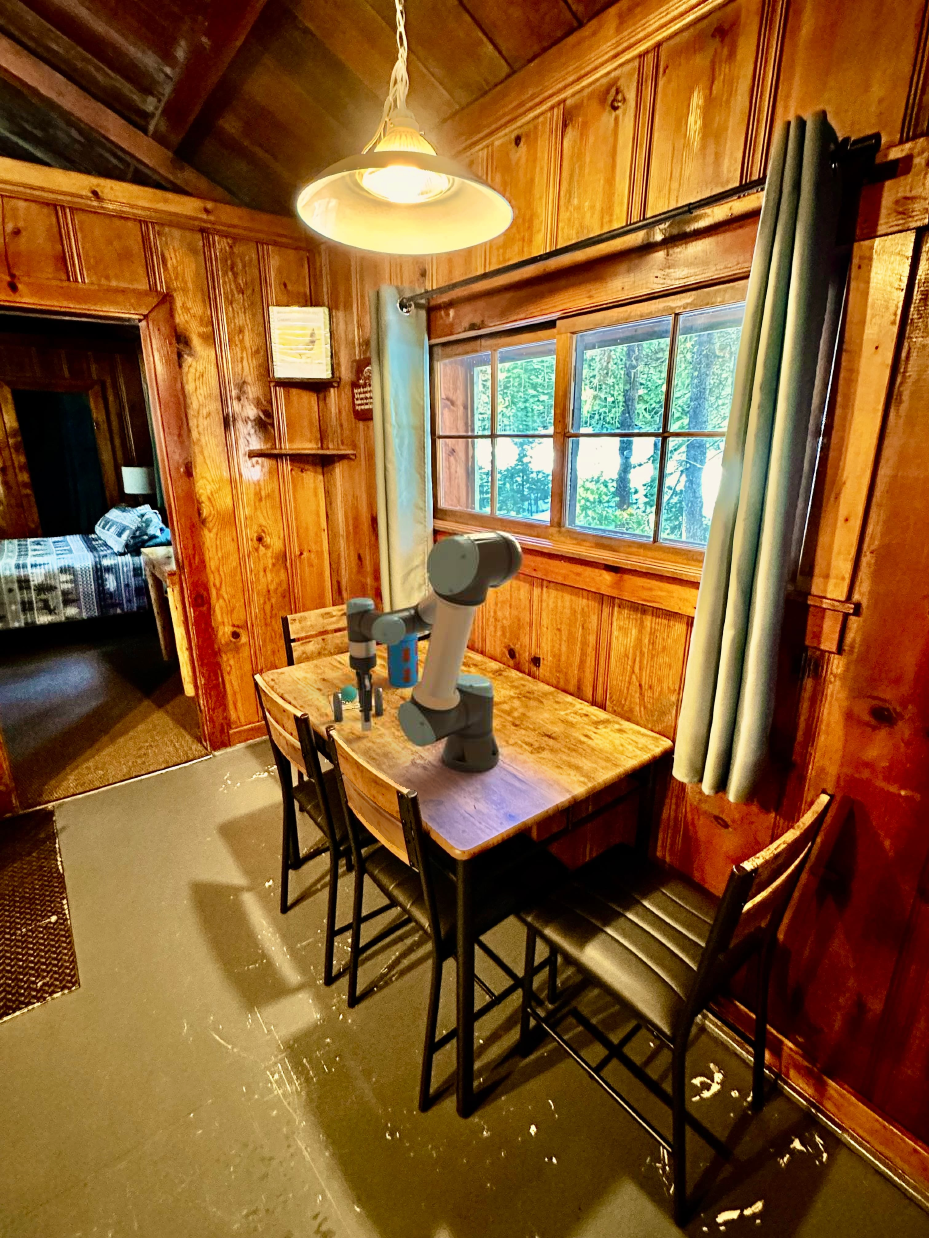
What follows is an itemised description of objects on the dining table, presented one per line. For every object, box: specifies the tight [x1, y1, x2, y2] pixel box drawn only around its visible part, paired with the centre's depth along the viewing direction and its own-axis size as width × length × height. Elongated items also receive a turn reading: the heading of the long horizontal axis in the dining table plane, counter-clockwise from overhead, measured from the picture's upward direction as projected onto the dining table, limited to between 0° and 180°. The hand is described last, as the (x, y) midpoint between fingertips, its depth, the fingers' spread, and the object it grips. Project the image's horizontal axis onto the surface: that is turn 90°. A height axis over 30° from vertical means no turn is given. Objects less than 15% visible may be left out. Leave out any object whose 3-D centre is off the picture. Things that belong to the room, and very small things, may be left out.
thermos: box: [386, 633, 419, 689], centre depth 202 cm, size 11×11×25 cm
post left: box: [331, 691, 344, 723], centre depth 175 cm, size 3×3×9 cm
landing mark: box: [328, 689, 374, 713], centre depth 191 cm, size 14×14×1 cm
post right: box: [373, 686, 384, 717], centre depth 179 cm, size 3×3×9 cm
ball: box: [340, 685, 358, 702], centre depth 189 cm, size 6×6×6 cm
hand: (366, 730), depth 166 cm, fingers closed
